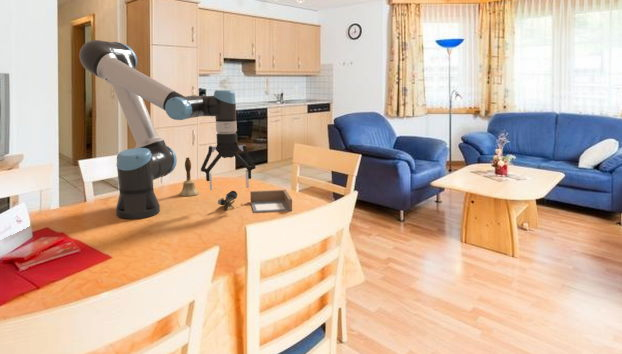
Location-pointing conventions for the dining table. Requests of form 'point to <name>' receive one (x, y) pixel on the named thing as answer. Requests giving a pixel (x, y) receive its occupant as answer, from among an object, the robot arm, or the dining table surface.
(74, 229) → the dining table surface
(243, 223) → the dining table surface
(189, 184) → the hand bell
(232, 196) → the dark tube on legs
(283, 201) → the tray
